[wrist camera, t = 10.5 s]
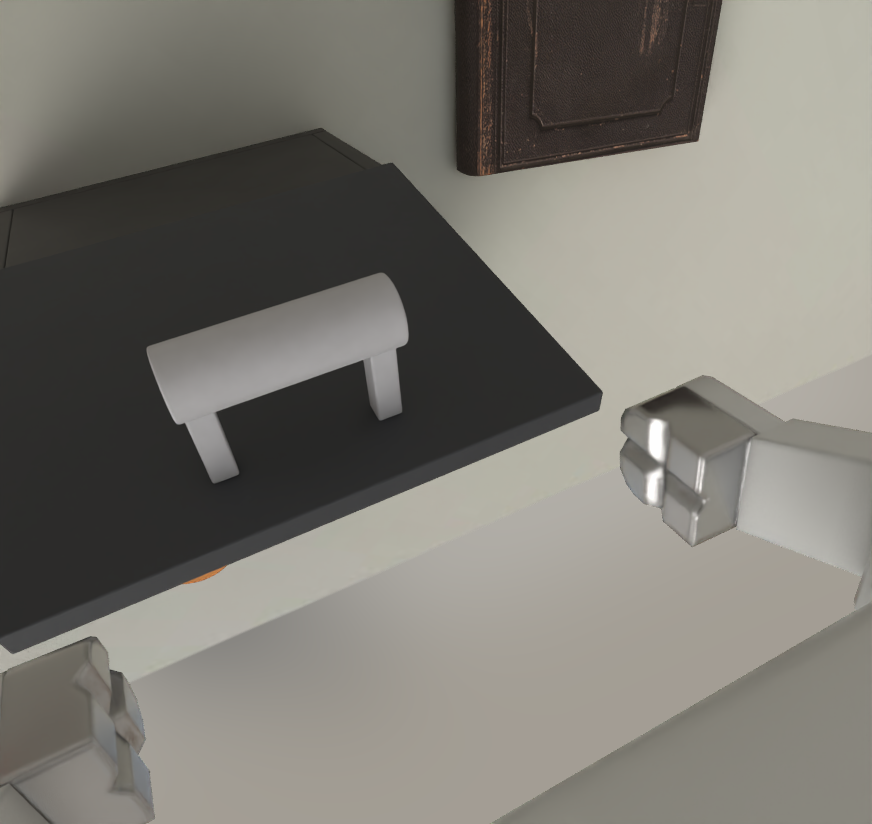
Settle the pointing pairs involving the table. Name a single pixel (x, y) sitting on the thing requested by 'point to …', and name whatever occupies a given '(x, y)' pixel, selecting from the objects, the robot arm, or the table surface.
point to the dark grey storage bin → (172, 194)
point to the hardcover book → (578, 78)
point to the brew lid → (247, 389)
